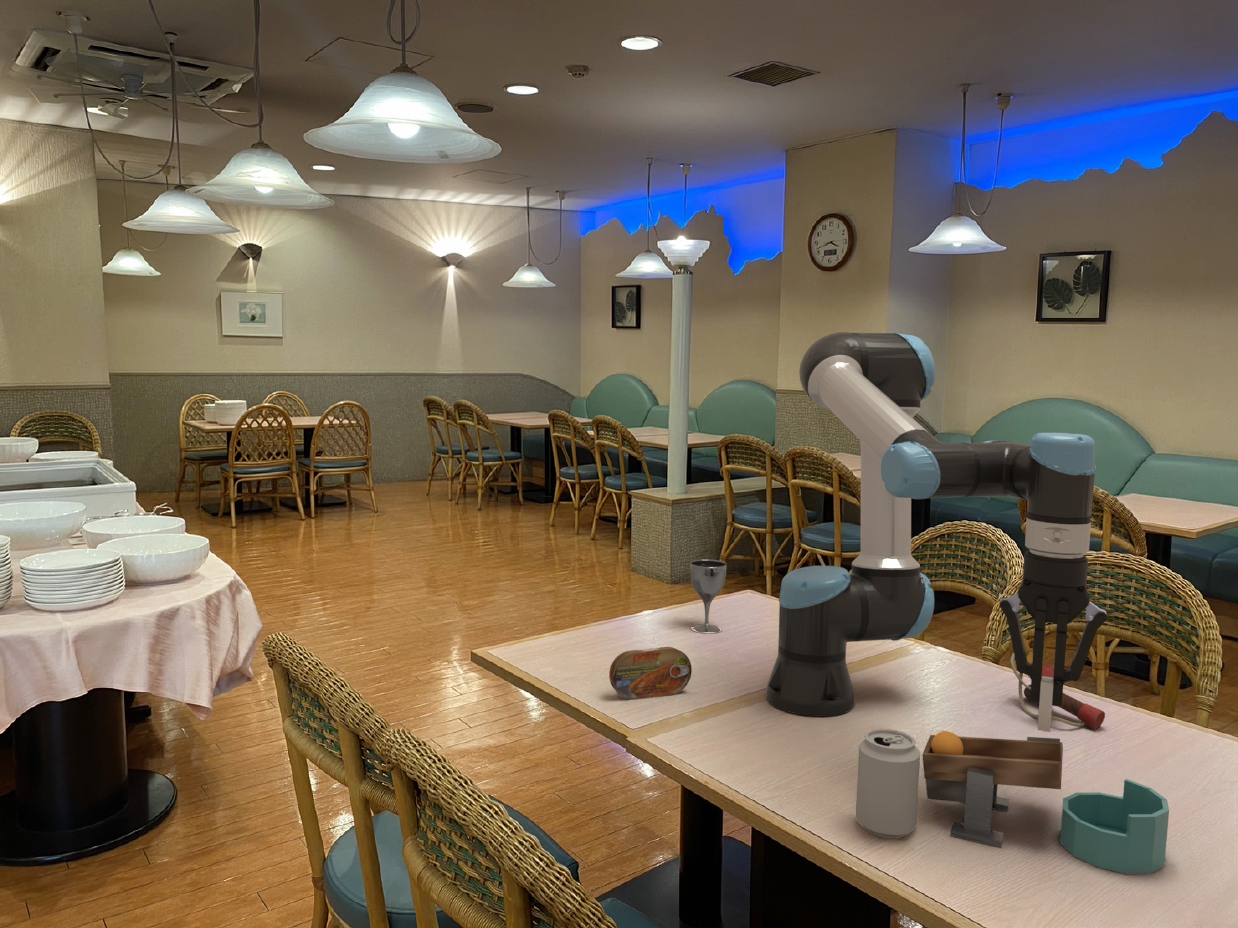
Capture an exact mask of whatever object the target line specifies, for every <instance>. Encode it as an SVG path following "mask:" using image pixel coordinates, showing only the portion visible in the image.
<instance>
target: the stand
mask: <svg viewBox="0 0 1238 928" xmlns="http://www.w3.org/2000/svg"><path fill="white" fill-rule="evenodd" d="M998 785H999V784H994V771H989V770H984V769H979V768H974V767H969V768H968V772H967V789H966V803H965V806H964V807H965V809H964V820H963V821H964V823H960V822H956V821H952V824H951V827H950V833H949V834H950V835H949V836H950V837H952V838H957V839H961V840H967V841H971V842H974V843H979V844H983V845H987V846H990V847H995V848H1000V849H1002V848H1003V843H1004V842H1003V841H1004V832H999V831H996V830H991V829H992V814H993V809H994V810H999V811H1004V812H1007V813H1008V812H1009V807H1010V798H1007V797H1004V796H1000V795H998V787H999V786H998Z"/></svg>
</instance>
